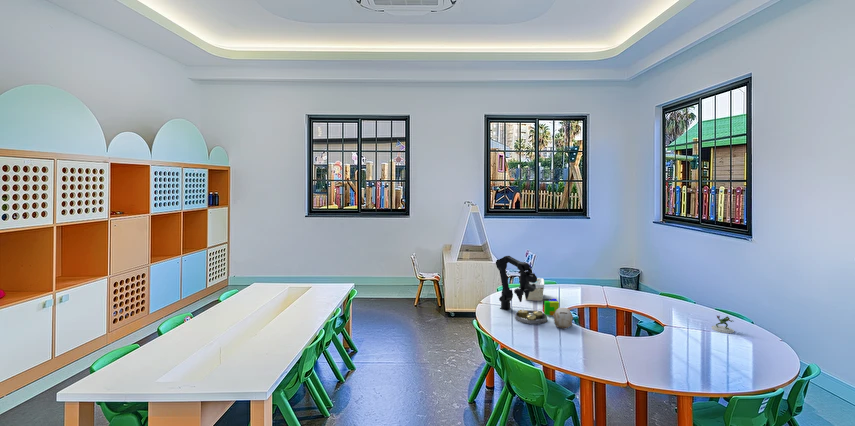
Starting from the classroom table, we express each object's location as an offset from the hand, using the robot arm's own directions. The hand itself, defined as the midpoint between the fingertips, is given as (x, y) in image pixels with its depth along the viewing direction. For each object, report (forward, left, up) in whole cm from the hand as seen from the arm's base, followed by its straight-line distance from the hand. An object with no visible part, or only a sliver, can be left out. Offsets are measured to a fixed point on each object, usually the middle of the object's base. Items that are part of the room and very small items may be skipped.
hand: (523, 300), depth 289 cm
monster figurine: (+115, +58, -12) cm, 130 cm away
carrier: (+7, -3, -12) cm, 14 cm away
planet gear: (+1, -3, -11) cm, 11 cm away
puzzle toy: (+13, +18, -12) cm, 25 cm away
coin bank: (+30, 0, -12) cm, 32 cm away
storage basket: (-15, +49, -12) cm, 52 cm away
